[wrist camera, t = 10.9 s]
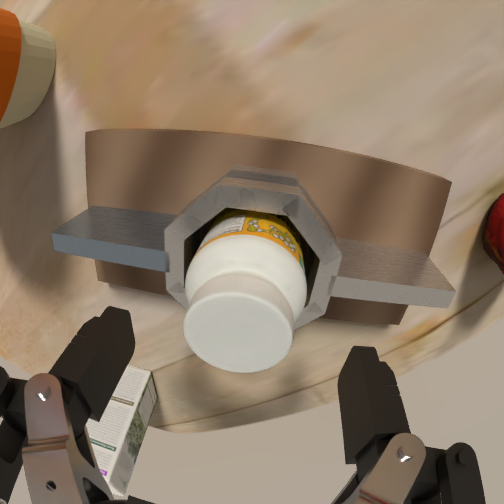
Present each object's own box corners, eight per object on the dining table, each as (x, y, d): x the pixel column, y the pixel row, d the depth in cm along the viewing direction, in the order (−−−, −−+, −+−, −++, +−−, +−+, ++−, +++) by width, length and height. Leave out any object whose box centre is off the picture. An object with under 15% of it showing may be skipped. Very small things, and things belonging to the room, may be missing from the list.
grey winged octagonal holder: (439, 204, 16) (479, 234, 12) (401, 307, 20) (423, 351, 16) (90, 156, 17) (43, 173, 13) (99, 263, 21) (65, 298, 16)
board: (441, 176, 17) (451, 182, 16) (393, 313, 22) (398, 324, 21) (97, 130, 18) (85, 132, 16) (106, 271, 23) (98, 280, 22)
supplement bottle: (199, 215, 18) (135, 306, 10) (274, 176, 17) (267, 244, 8) (242, 281, 20) (215, 394, 12) (313, 249, 19) (333, 361, 10)
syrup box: (107, 357, 29) (53, 459, 16) (153, 370, 28) (108, 484, 16) (118, 386, 31) (76, 478, 18) (160, 398, 31) (125, 499, 18)
